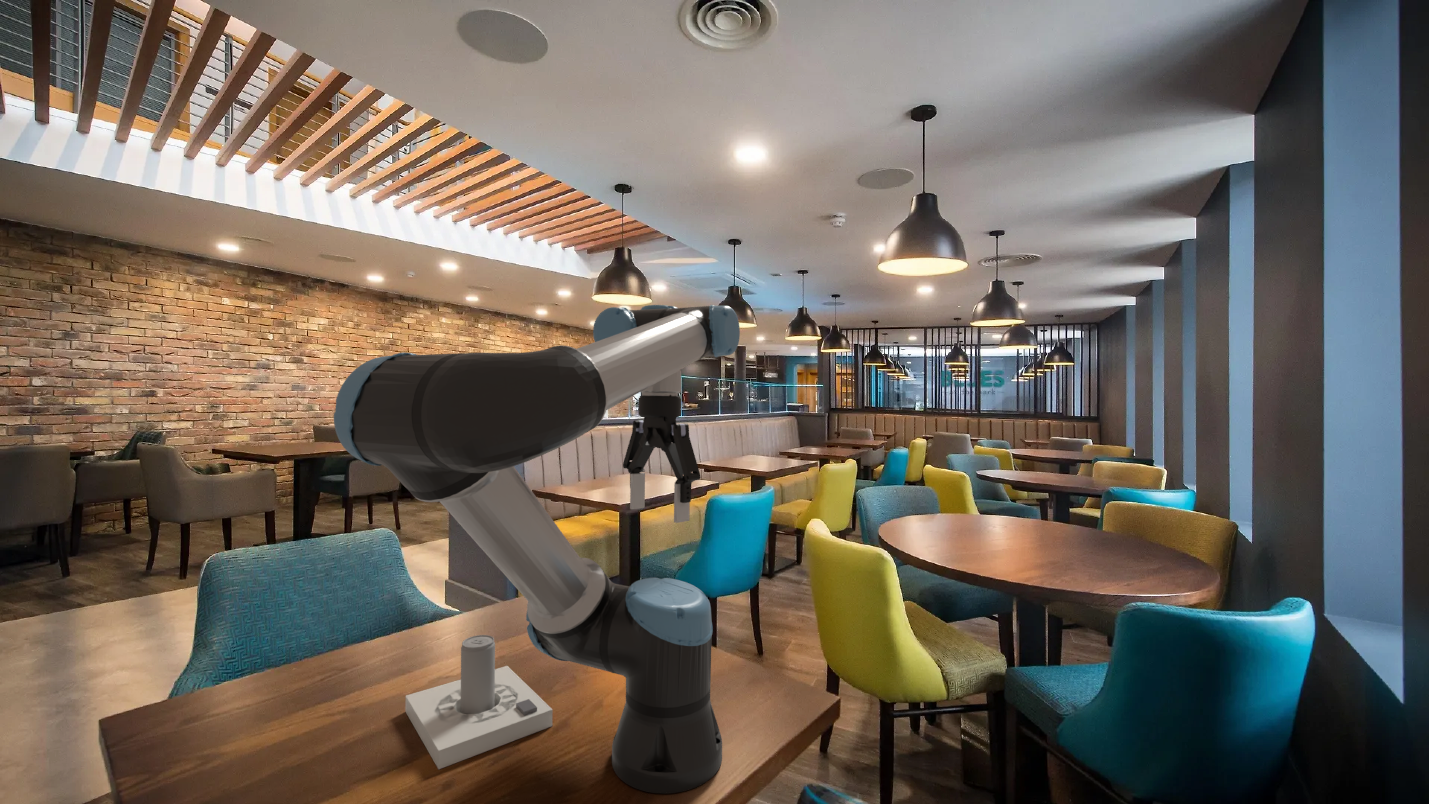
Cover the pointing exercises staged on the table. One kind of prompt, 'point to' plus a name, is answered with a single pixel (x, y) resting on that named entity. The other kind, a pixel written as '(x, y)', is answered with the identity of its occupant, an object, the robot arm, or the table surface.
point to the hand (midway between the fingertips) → (658, 514)
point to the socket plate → (475, 718)
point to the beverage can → (477, 674)
